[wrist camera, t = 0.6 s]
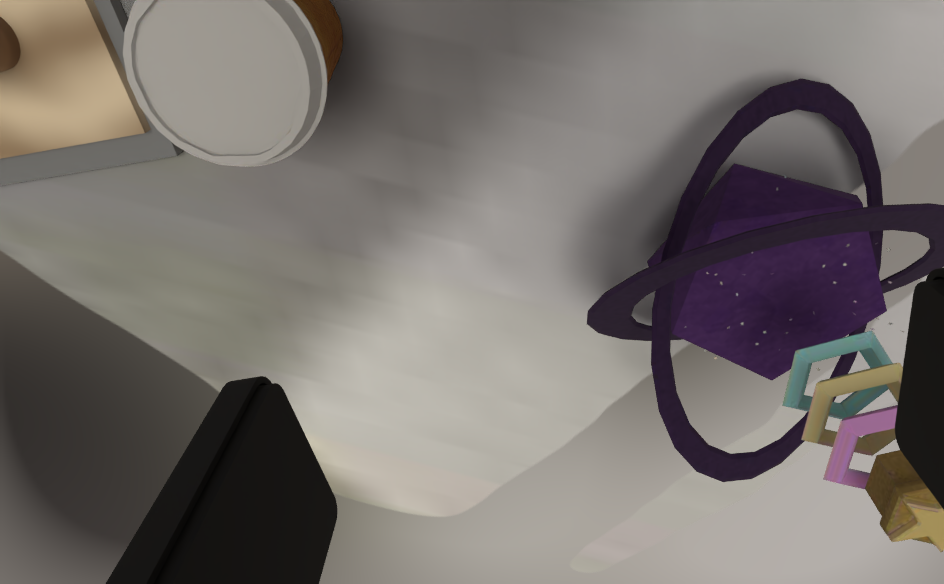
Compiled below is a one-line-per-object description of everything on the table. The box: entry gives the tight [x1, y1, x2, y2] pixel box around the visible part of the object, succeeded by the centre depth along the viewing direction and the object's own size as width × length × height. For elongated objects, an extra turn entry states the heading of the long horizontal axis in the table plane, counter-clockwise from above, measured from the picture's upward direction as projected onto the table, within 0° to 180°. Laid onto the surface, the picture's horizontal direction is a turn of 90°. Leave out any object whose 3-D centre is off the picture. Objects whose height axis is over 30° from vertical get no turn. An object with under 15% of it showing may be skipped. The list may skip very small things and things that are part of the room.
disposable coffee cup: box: [123, 0, 343, 167], centre depth 34 cm, size 10×10×12 cm
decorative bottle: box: [587, 79, 944, 552], centre depth 34 cm, size 22×21×25 cm
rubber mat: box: [0, 0, 184, 186], centre depth 40 cm, size 18×16×1 cm
